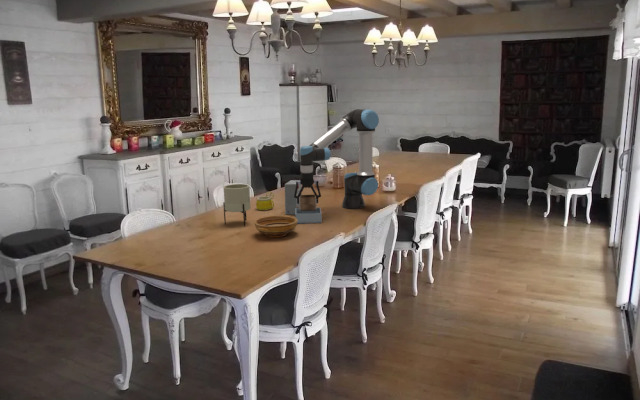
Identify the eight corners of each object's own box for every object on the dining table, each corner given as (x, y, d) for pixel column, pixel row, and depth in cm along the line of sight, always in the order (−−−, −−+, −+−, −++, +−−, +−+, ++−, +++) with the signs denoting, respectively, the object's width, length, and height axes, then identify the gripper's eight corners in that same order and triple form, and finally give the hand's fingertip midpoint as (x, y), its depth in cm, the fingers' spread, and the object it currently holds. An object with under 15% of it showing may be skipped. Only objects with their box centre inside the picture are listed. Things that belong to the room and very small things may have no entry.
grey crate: (320, 216, 335) (320, 207, 334) (321, 222, 320) (321, 213, 319) (295, 217, 335) (295, 208, 333) (295, 223, 319) (295, 214, 318)
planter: (256, 221, 328) (254, 184, 323) (242, 227, 314) (240, 189, 309) (235, 219, 334) (233, 183, 329) (220, 225, 320) (218, 187, 315)
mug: (253, 210, 357) (252, 192, 354) (261, 207, 367) (260, 189, 364) (270, 211, 352) (269, 193, 350) (277, 208, 362) (277, 190, 360)
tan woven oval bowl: (279, 244, 280) (279, 229, 278) (242, 238, 291) (241, 224, 290) (308, 230, 305) (308, 216, 303) (273, 225, 316) (273, 212, 315)
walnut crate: (315, 207, 330) (314, 194, 329) (315, 210, 322) (315, 197, 320) (300, 207, 330) (300, 194, 328) (300, 211, 321) (300, 197, 320)
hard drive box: (296, 215, 341) (295, 184, 337) (285, 214, 343) (283, 184, 339) (302, 209, 356) (301, 180, 352) (291, 209, 358) (290, 179, 353)
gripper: (324, 170, 325) (325, 206, 330) (288, 171, 324) (290, 207, 329) (325, 172, 318) (326, 209, 322) (288, 173, 317) (289, 210, 322)
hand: (307, 208), depth 326 cm, fingers closed on walnut crate, 9 cm apart
